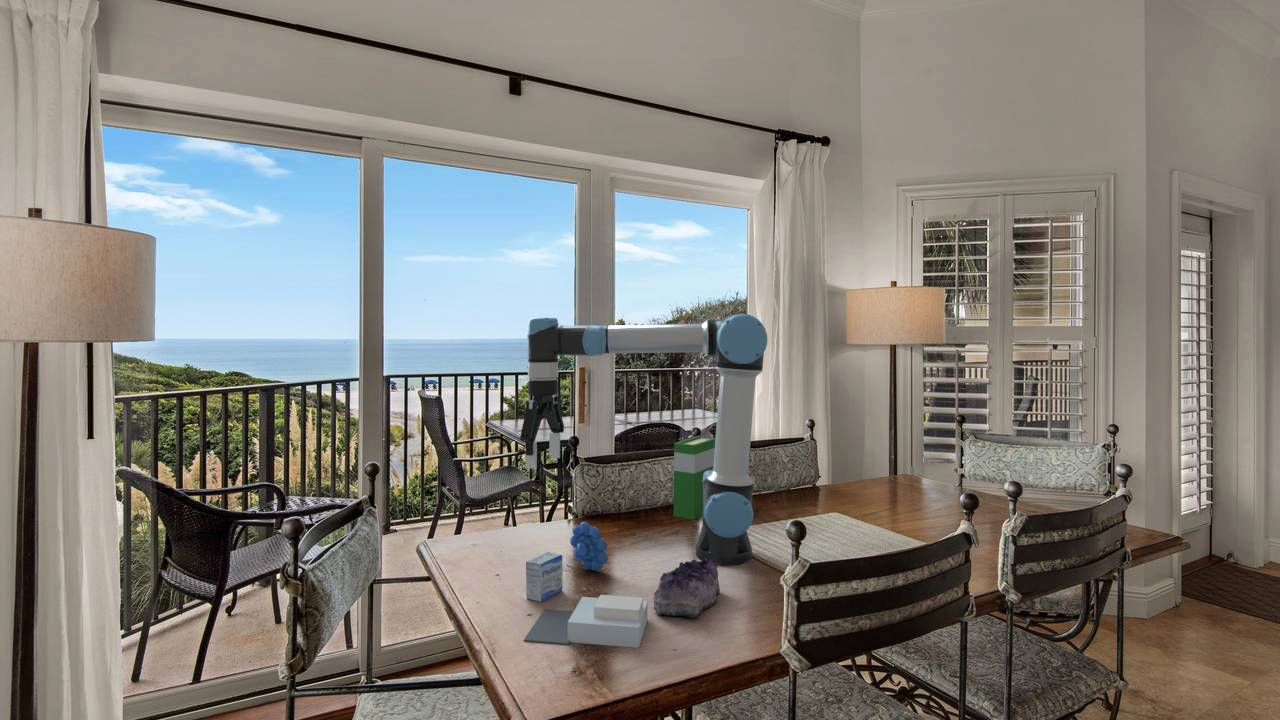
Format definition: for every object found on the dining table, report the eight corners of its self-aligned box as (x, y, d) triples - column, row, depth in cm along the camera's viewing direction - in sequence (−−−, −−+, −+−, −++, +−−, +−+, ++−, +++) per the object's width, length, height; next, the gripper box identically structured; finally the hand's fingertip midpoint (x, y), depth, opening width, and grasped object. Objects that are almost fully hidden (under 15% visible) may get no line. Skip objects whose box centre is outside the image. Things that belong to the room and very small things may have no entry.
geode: (684, 583, 156) (690, 543, 155) (728, 599, 150) (735, 558, 149) (642, 611, 138) (649, 566, 137) (690, 631, 133) (697, 584, 132)
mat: (585, 613, 138) (585, 612, 138) (568, 644, 124) (568, 643, 124) (544, 610, 140) (544, 608, 140) (523, 641, 126) (523, 639, 126)
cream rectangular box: (643, 607, 132) (643, 597, 132) (638, 620, 126) (638, 610, 126) (600, 604, 134) (600, 594, 133) (593, 616, 128) (593, 606, 128)
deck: (647, 620, 135) (647, 601, 135) (638, 647, 123) (639, 627, 123) (582, 615, 137) (582, 596, 137) (567, 642, 126) (567, 622, 125)
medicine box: (540, 603, 143) (540, 564, 143) (525, 598, 146) (525, 560, 145) (563, 591, 150) (563, 554, 150) (548, 586, 152) (548, 550, 152)
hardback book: (697, 503, 226) (698, 435, 225) (717, 507, 222) (718, 437, 221) (673, 516, 211) (674, 443, 210) (693, 519, 207) (694, 445, 206)
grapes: (559, 569, 163) (559, 522, 163) (576, 561, 169) (576, 516, 168) (596, 580, 157) (596, 531, 156) (612, 571, 162) (613, 524, 162)
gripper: (550, 375, 176) (550, 452, 177) (505, 382, 152) (505, 472, 153) (576, 375, 173) (576, 454, 174) (534, 383, 150) (534, 474, 150)
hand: (543, 462), depth 164 cm, fingers open, 13 cm apart
